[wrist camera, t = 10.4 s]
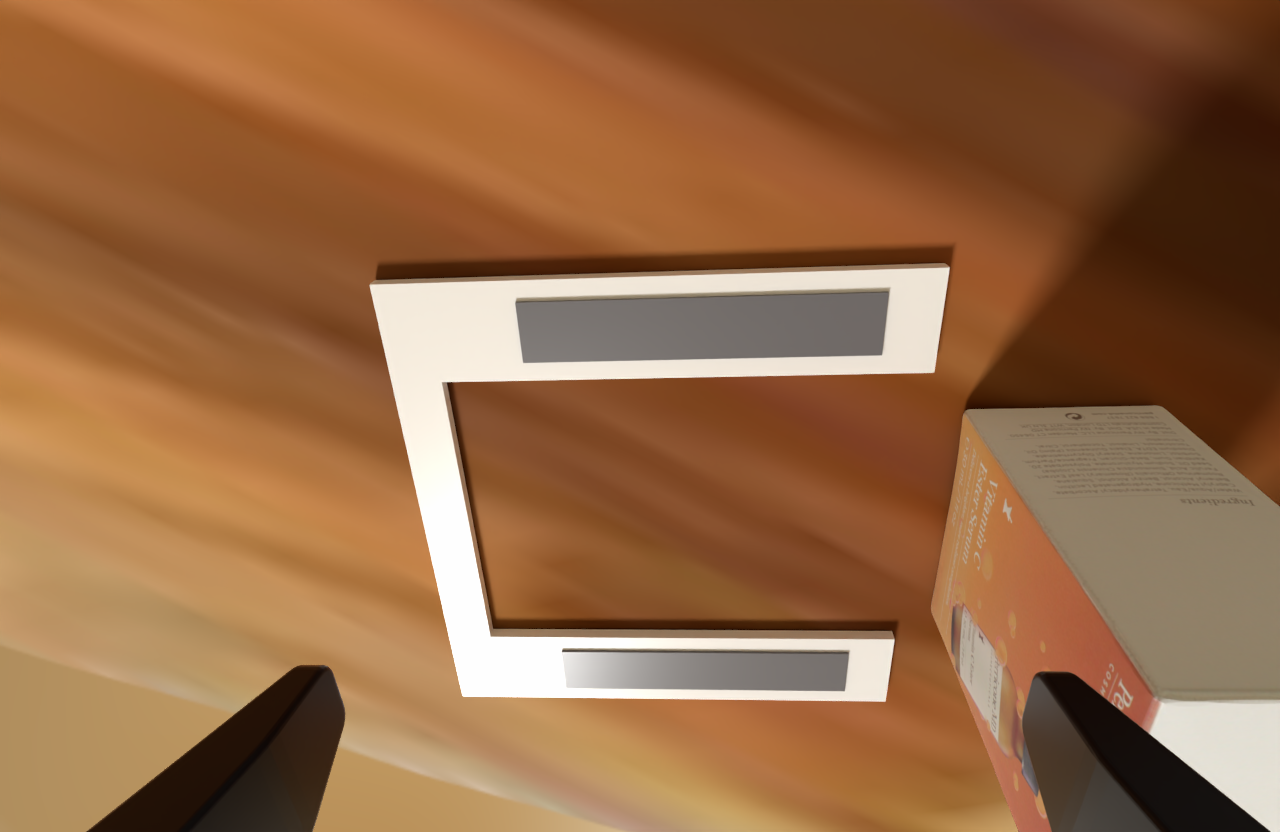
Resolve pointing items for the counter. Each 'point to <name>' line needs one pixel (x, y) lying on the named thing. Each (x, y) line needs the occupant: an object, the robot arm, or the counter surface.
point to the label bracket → (625, 349)
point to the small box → (1115, 590)
